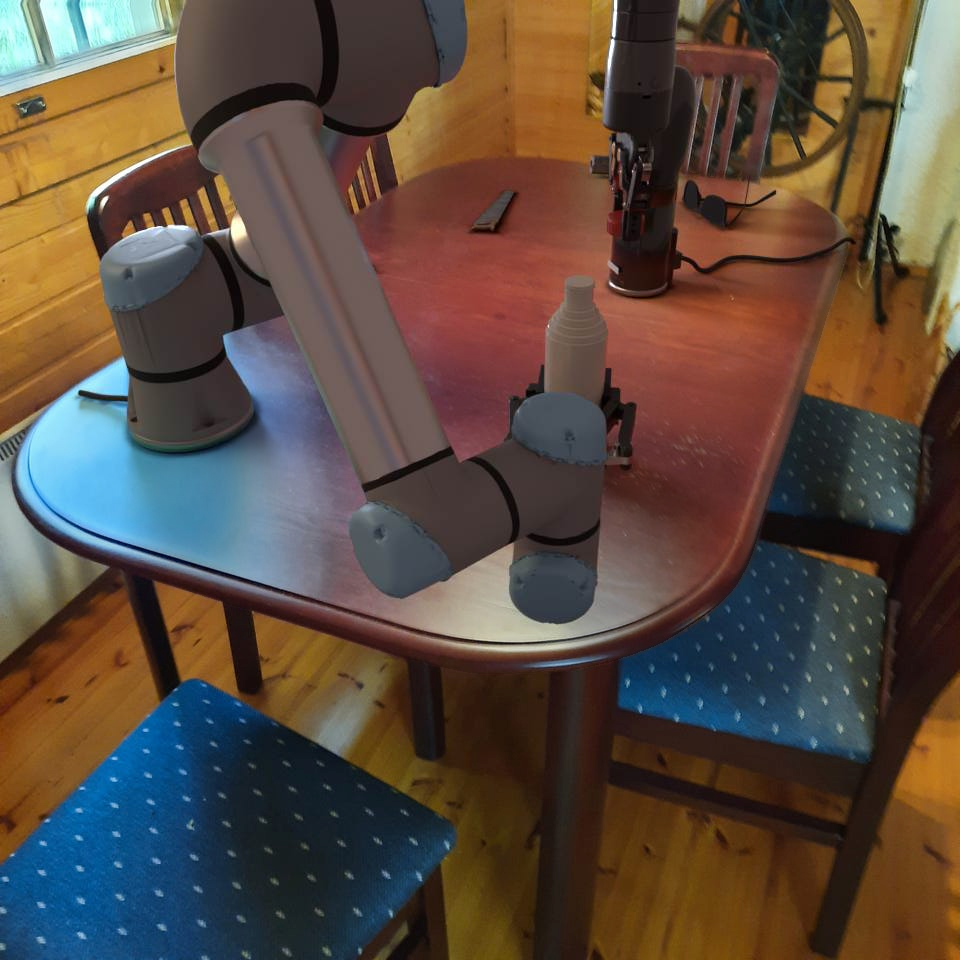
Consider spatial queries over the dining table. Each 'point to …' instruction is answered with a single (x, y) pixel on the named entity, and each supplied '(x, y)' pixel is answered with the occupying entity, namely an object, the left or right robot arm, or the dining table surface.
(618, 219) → the cap
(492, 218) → the grey flat bar
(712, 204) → the sunglasses
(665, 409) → the dining table surface
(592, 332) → the bottle
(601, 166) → the pipe
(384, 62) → the left robot arm
